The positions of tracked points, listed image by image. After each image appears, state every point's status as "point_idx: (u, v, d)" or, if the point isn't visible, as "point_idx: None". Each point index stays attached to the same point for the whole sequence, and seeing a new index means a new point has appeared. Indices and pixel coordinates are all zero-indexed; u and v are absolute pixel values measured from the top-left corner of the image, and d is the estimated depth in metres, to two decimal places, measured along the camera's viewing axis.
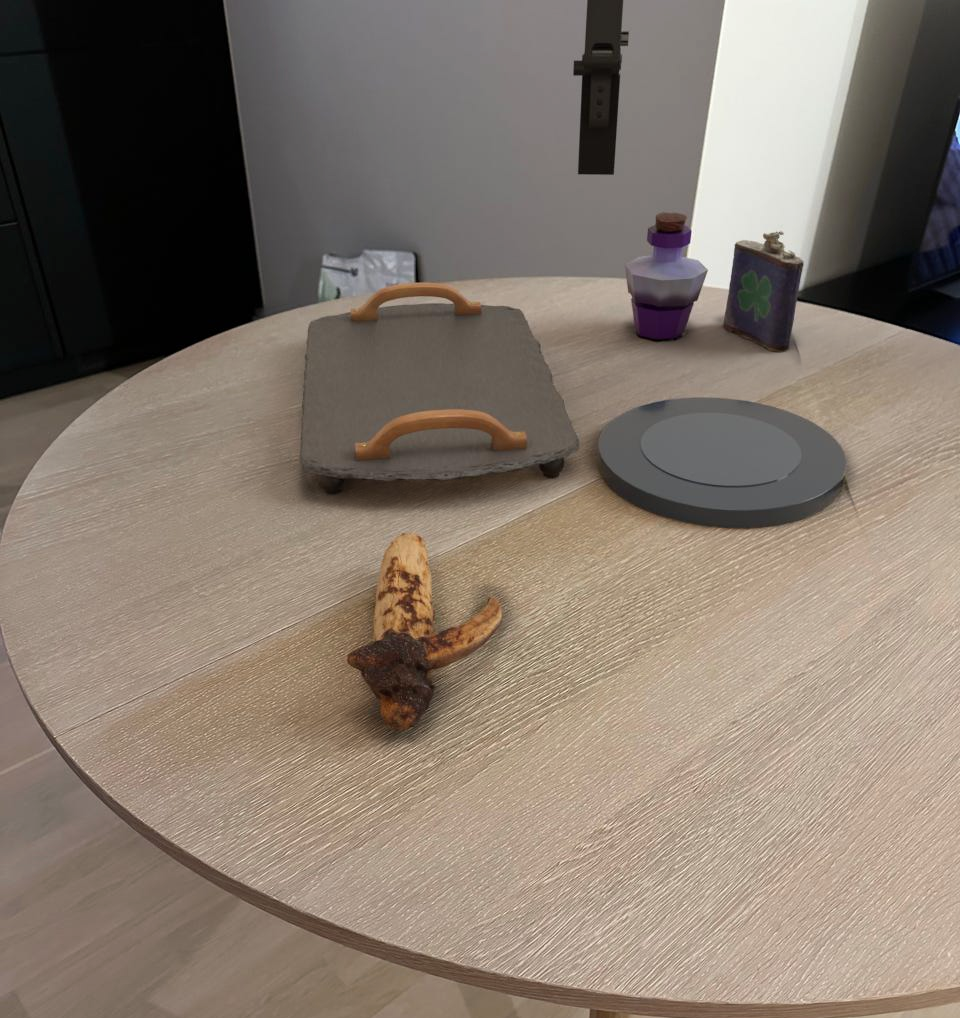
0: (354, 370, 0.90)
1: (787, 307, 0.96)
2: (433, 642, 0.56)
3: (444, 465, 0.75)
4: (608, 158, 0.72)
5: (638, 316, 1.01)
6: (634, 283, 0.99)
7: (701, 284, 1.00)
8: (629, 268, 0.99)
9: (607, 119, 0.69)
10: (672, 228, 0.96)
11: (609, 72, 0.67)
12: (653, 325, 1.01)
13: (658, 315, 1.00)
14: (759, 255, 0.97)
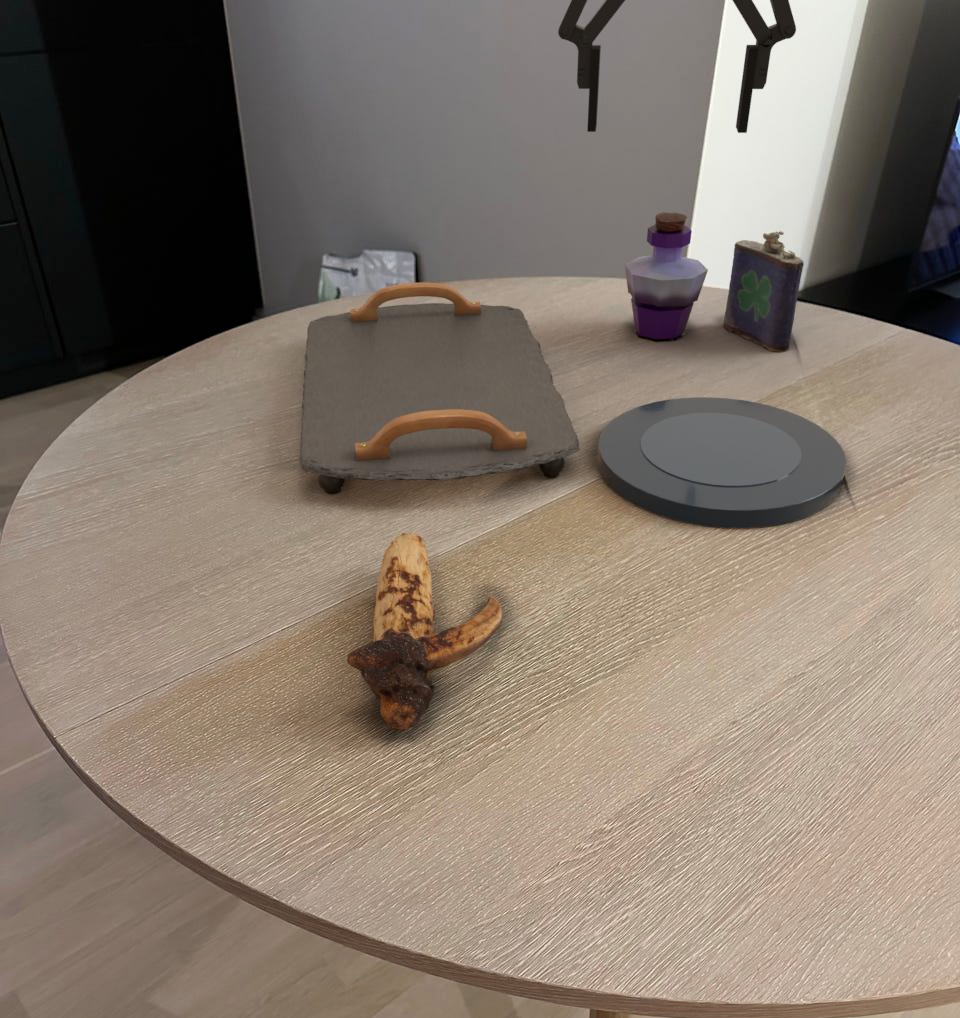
0: (354, 370, 0.90)
1: (787, 307, 0.96)
2: (433, 642, 0.56)
3: (444, 465, 0.75)
4: None
5: (638, 316, 1.01)
6: (634, 283, 0.99)
7: (701, 284, 1.00)
8: (629, 268, 0.99)
9: None
10: (672, 228, 0.96)
11: None
12: (653, 325, 1.01)
13: (658, 315, 1.00)
14: (759, 255, 0.97)
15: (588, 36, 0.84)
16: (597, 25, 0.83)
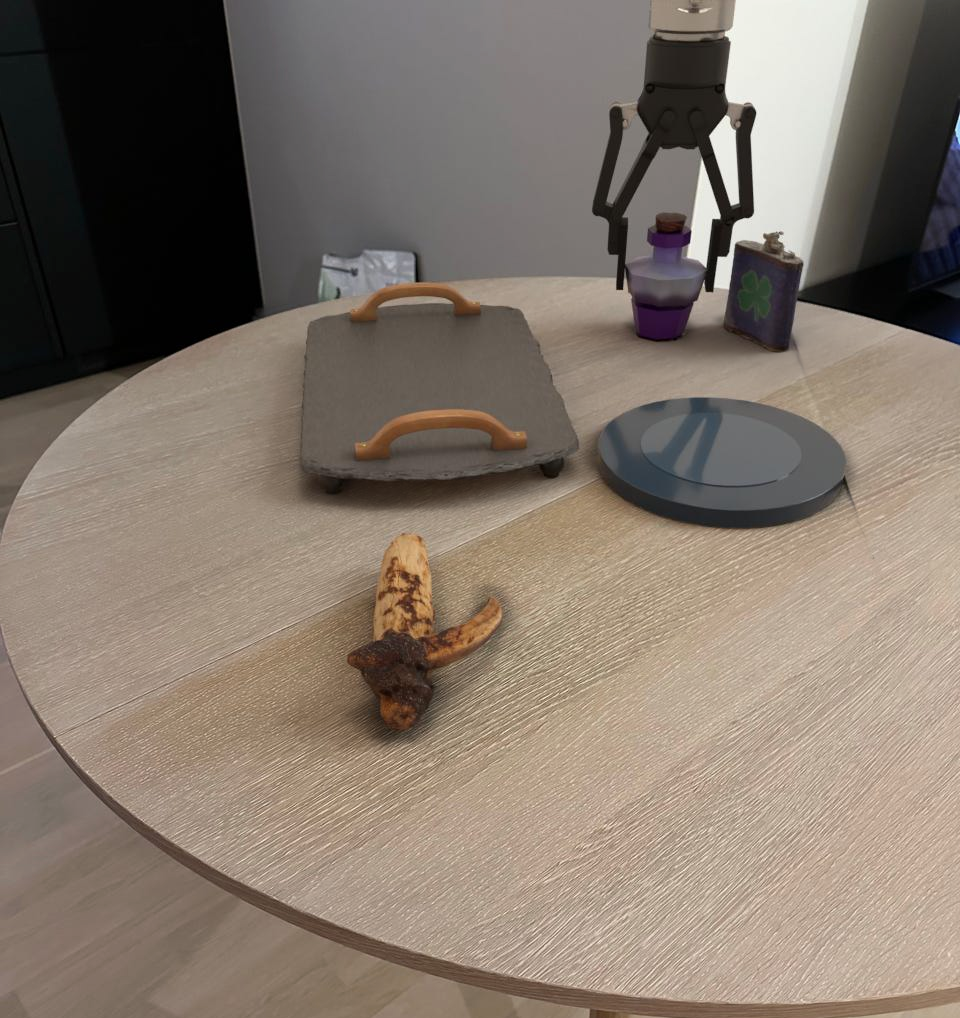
0: (354, 370, 0.90)
1: (787, 307, 0.96)
2: (433, 642, 0.56)
3: (444, 464, 0.75)
4: None
5: (638, 316, 1.01)
6: (634, 283, 0.99)
7: (701, 284, 1.00)
8: (629, 268, 0.99)
9: None
10: (672, 228, 0.96)
11: None
12: (653, 325, 1.01)
13: (658, 315, 1.00)
14: (759, 255, 0.97)
15: (617, 213, 0.96)
16: (623, 203, 0.95)
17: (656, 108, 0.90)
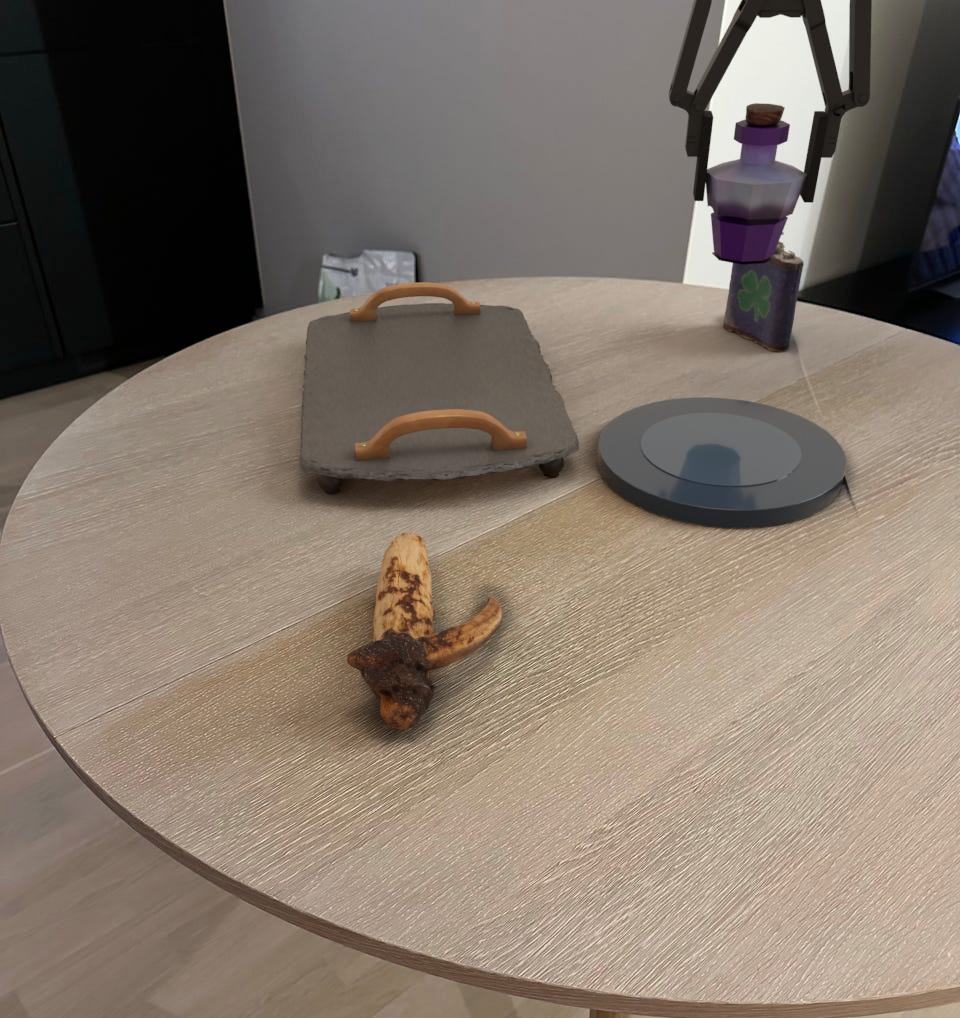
0: (354, 370, 0.90)
1: (787, 307, 0.96)
2: (433, 642, 0.56)
3: (444, 464, 0.75)
4: None
5: (720, 233, 0.84)
6: (718, 190, 0.81)
7: (798, 193, 0.82)
8: (711, 173, 0.82)
9: None
10: (767, 120, 0.79)
11: None
12: (739, 244, 0.84)
13: (746, 230, 0.83)
14: None
15: (701, 102, 0.79)
16: (708, 89, 0.78)
17: None
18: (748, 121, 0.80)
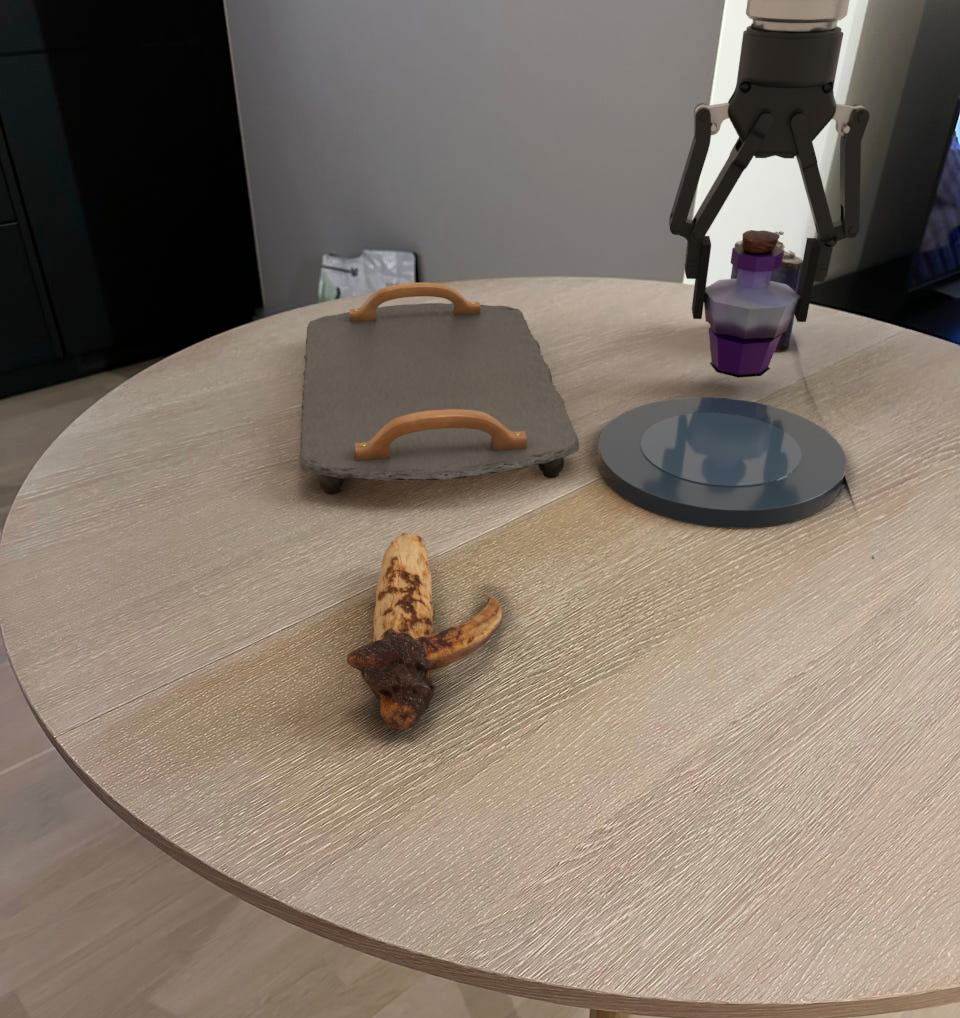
0: (353, 370, 0.90)
1: None
2: (433, 642, 0.56)
3: (444, 464, 0.75)
4: None
5: (718, 348, 0.88)
6: (716, 311, 0.86)
7: (792, 312, 0.87)
8: (709, 294, 0.87)
9: None
10: (762, 249, 0.83)
11: None
12: (735, 359, 0.88)
13: (742, 348, 0.87)
14: None
15: (699, 232, 0.83)
16: (707, 220, 0.82)
17: (751, 110, 0.77)
18: (744, 248, 0.84)
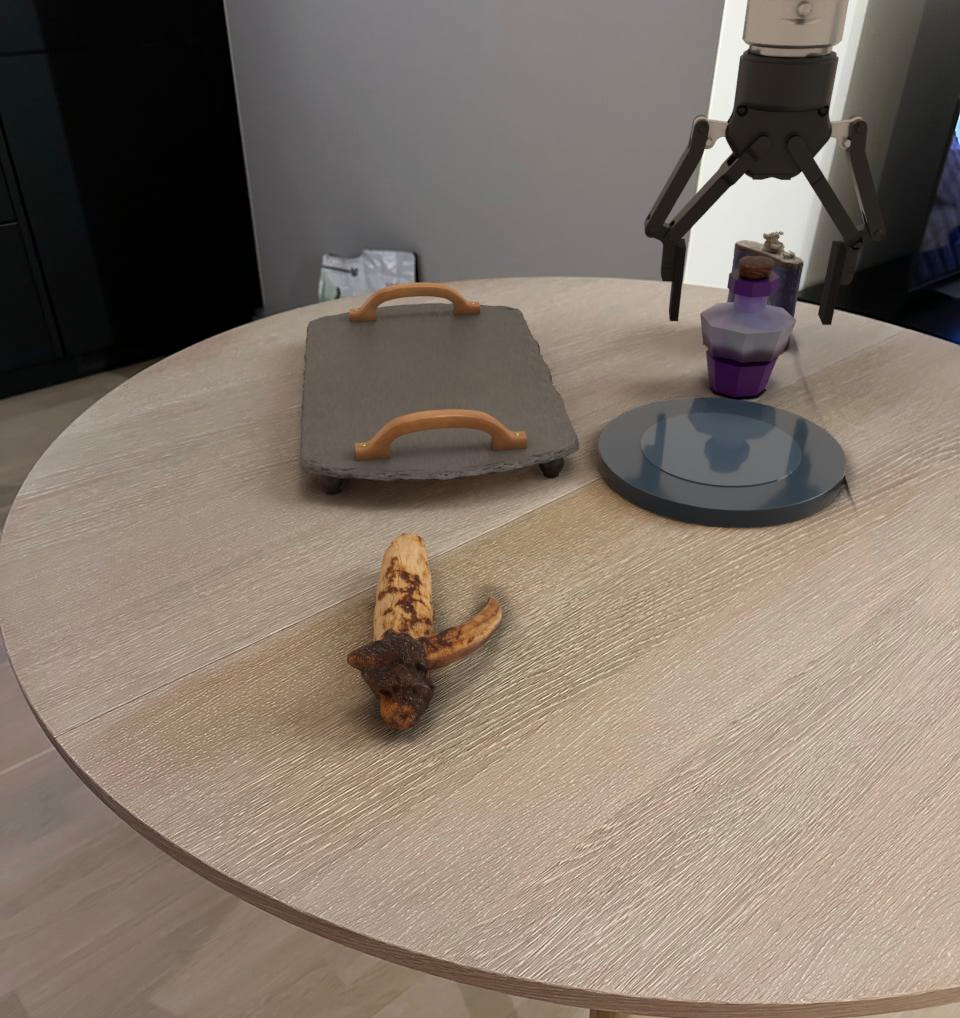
0: (353, 370, 0.90)
1: (787, 307, 0.96)
2: (433, 642, 0.56)
3: (444, 464, 0.75)
4: None
5: (715, 371, 0.90)
6: (713, 335, 0.87)
7: (788, 336, 0.88)
8: (706, 318, 0.88)
9: None
10: (759, 275, 0.84)
11: None
12: (732, 382, 0.89)
13: (739, 371, 0.88)
14: (759, 255, 0.97)
15: (675, 235, 0.83)
16: (684, 225, 0.83)
17: (748, 133, 0.78)
18: (741, 274, 0.85)
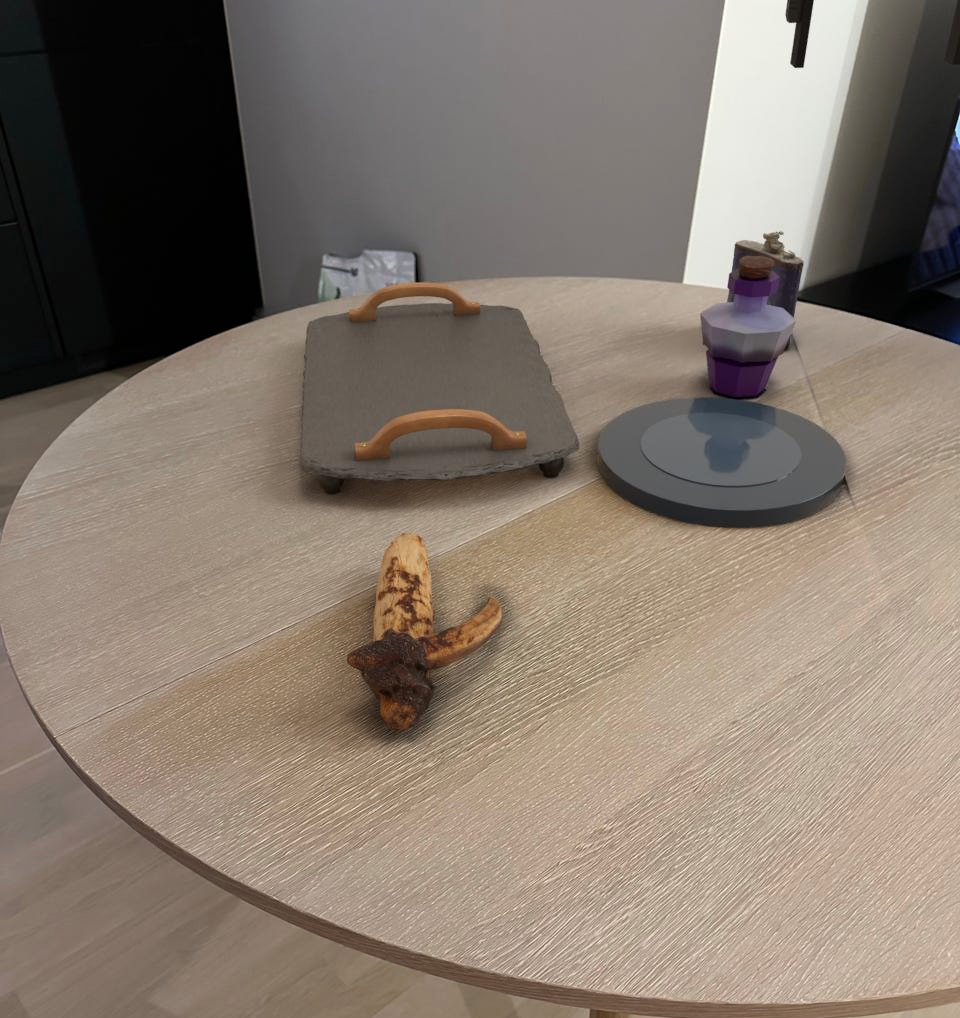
0: (353, 370, 0.90)
1: (787, 307, 0.96)
2: (432, 642, 0.56)
3: (444, 464, 0.75)
4: None
5: (715, 371, 0.90)
6: (713, 335, 0.87)
7: (788, 336, 0.88)
8: (706, 318, 0.88)
9: None
10: (758, 274, 0.84)
11: None
12: (732, 382, 0.89)
13: (739, 371, 0.88)
14: (759, 255, 0.97)
15: None
16: None
17: None
18: (741, 274, 0.85)
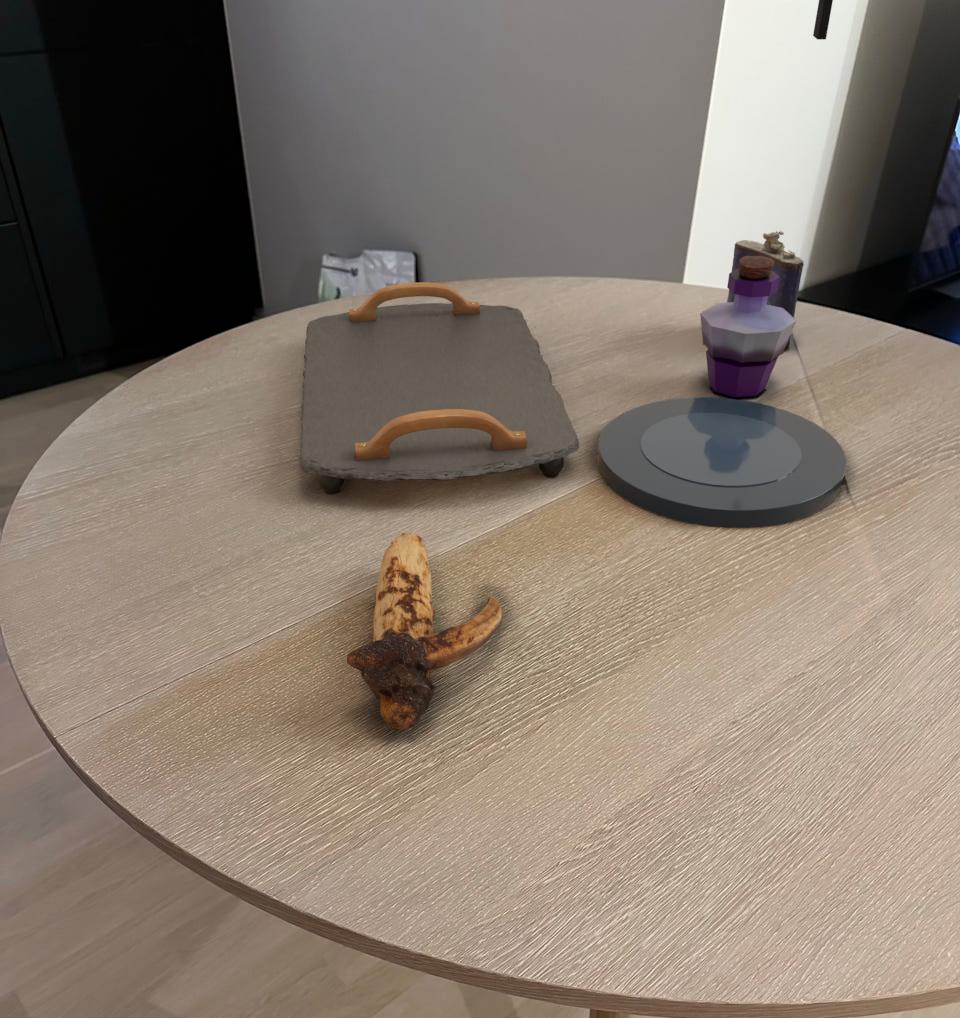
0: (353, 370, 0.90)
1: (787, 307, 0.96)
2: (432, 642, 0.56)
3: (444, 464, 0.75)
4: None
5: (715, 371, 0.90)
6: (713, 335, 0.87)
7: (788, 336, 0.88)
8: (706, 318, 0.88)
9: None
10: (759, 275, 0.84)
11: None
12: (732, 382, 0.89)
13: (739, 371, 0.88)
14: (759, 255, 0.97)
15: None
16: None
17: None
18: (741, 274, 0.85)
